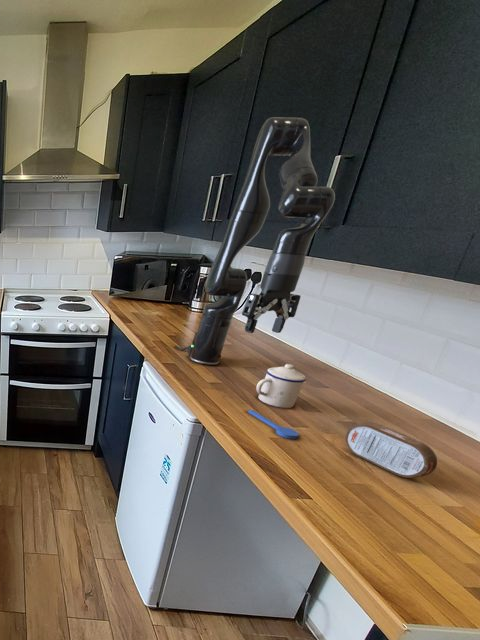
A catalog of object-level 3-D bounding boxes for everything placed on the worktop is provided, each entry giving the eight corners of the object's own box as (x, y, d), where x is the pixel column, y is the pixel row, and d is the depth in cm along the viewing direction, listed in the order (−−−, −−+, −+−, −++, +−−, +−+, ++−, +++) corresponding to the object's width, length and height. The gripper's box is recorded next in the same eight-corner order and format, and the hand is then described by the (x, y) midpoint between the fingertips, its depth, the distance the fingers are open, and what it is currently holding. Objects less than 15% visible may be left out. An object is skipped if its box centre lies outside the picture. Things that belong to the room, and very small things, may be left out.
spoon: (242, 412, 110) (243, 409, 110) (256, 412, 111) (257, 408, 110) (286, 439, 97) (287, 436, 97) (301, 438, 98) (303, 435, 98)
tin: (426, 484, 83) (447, 450, 79) (416, 487, 82) (437, 452, 79) (345, 445, 96) (361, 414, 92) (336, 447, 95) (351, 416, 92)
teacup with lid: (277, 394, 122) (291, 359, 117) (302, 408, 114) (318, 370, 109) (240, 395, 121) (253, 359, 116) (263, 409, 112) (278, 371, 108)
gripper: (293, 270, 108) (273, 328, 115) (247, 269, 106) (229, 328, 112) (319, 274, 101) (296, 335, 108) (271, 273, 99) (250, 336, 105)
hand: (262, 332), depth 110 cm, fingers open, 8 cm apart
